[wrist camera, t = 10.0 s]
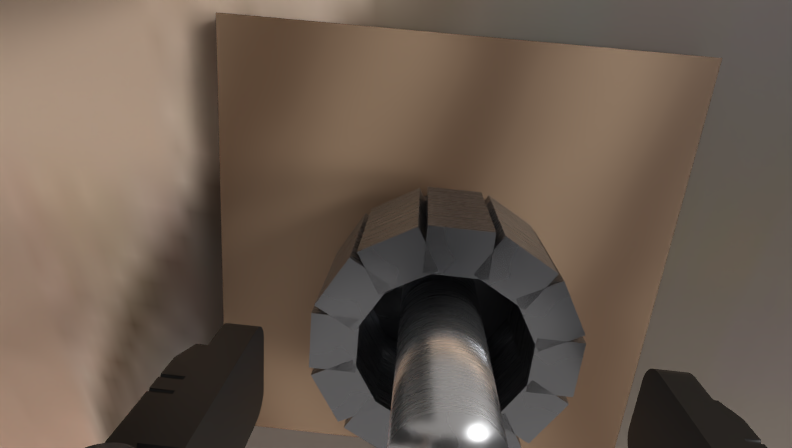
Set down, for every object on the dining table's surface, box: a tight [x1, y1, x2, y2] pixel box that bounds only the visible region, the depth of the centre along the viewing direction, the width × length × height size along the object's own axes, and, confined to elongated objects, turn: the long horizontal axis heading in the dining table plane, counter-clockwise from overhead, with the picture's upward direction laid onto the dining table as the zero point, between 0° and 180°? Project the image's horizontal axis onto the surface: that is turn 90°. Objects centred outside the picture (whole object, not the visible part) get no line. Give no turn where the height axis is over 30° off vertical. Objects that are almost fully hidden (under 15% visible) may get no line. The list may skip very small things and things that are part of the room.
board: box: [216, 13, 722, 448], centre depth 17 cm, size 14×14×1 cm
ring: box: [309, 187, 586, 448], centre depth 13 cm, size 6×6×3 cm
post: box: [373, 196, 510, 448], centre depth 13 cm, size 5×5×8 cm
